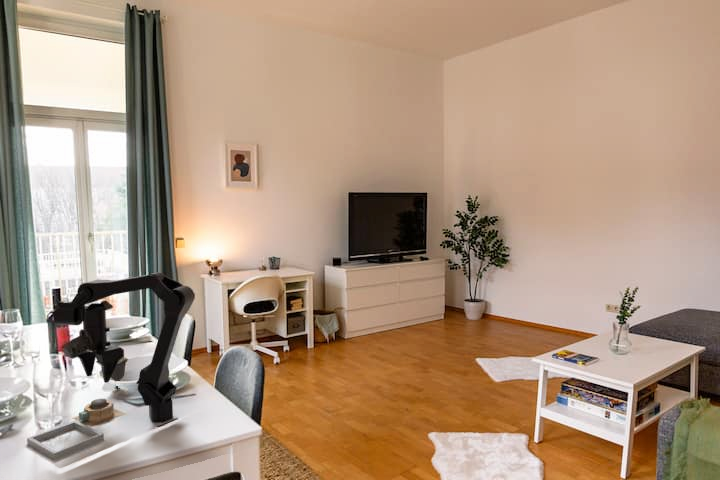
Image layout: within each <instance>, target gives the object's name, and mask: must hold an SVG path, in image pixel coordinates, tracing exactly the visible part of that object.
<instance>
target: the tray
mask: <svg viewBox="0 0 720 480" xmlns="http://www.w3.org/2000/svg"><path fill="white" fill-rule="evenodd" d="M72 429H76V430H78V431H80V432H82V433H84V434H86V435H88V436H91V437H88V438H86V439H84V440H81V441H78V442H76V443H73V444H70V445H68V446H66V447H63V448H61V449H58V450H54V449H53V448H51V447H50V446H47V444H44V443H42V442H41V441H43V440H46V439H48V438H51V437H54V436H57V435H59V434H62V433H65V432H67V431H70V430H72ZM104 435H105V434H104V433H103V432H101V431H99V430H97V429H94V428H92V427H90V426H88V425H86V424H84V423H82V422H79V421H77V420H73V421H70V422H68V423H65V424H63V425H60V426H57V427H54V428H51V429H49V430H46V431H43V432H40V433H38V434H34V435H32V436H29V437H27V438H26V443H27V445H28V446H30V447H31V448H34V449H35V450H37V451H38V452H40V453H42V454H44V455H45V456H48V457H49V458H50V459H52V460H54V461H55V460H57V459H60V458H62V457H65V456H68V455H70V454H72V453H74V452H77V451H80V450H83V449H84V448H88V447H90V446H92V445H94V444H96V443H99V442H102V441H104V440H105V437H104Z"/></svg>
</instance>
